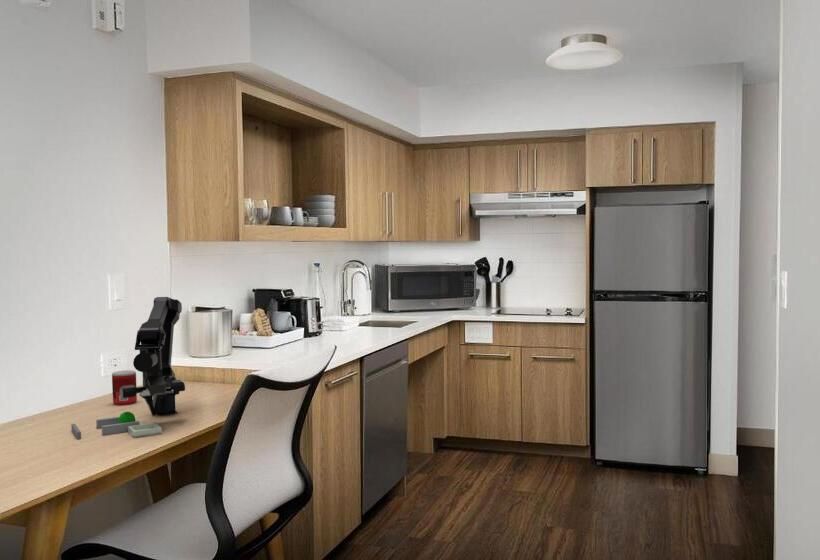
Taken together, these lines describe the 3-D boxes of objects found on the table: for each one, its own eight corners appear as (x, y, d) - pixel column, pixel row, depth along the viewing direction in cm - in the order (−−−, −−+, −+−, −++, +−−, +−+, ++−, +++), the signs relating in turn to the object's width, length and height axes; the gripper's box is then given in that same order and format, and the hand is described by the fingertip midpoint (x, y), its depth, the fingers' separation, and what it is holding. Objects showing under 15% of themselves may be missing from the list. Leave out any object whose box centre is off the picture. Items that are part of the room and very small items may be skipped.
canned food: (141, 402, 268) (140, 371, 267) (122, 406, 261) (121, 375, 260) (127, 399, 272) (126, 369, 271) (108, 404, 265) (107, 373, 264)
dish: (155, 428, 230) (155, 422, 230) (161, 433, 223) (161, 427, 223) (127, 432, 226) (127, 426, 226) (133, 438, 219) (133, 431, 219)
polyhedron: (118, 426, 233) (118, 411, 233) (135, 424, 235) (135, 409, 234) (118, 430, 228) (118, 414, 228) (135, 428, 230) (135, 413, 230)
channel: (131, 422, 238) (131, 414, 238) (140, 430, 228) (139, 422, 228) (71, 430, 229) (71, 422, 229) (77, 439, 219) (77, 430, 218)
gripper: (125, 373, 223) (127, 425, 224) (189, 366, 233) (190, 416, 234) (118, 368, 232) (120, 418, 233) (179, 362, 242) (181, 409, 243)
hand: (153, 415), depth 236 cm, fingers closed
